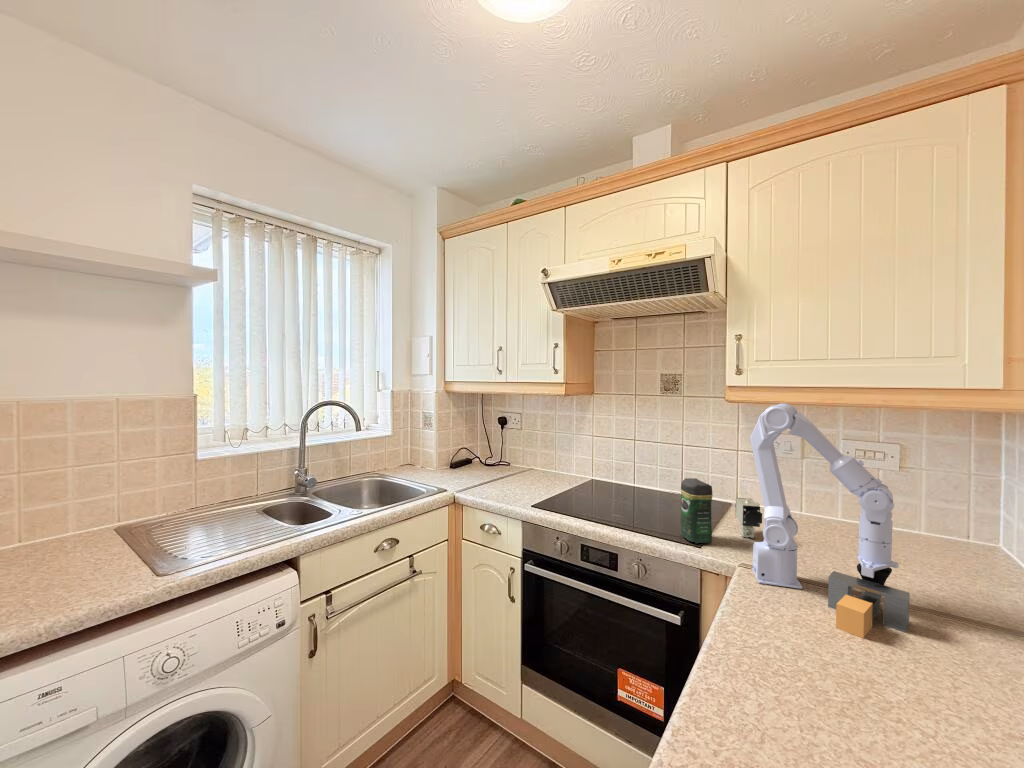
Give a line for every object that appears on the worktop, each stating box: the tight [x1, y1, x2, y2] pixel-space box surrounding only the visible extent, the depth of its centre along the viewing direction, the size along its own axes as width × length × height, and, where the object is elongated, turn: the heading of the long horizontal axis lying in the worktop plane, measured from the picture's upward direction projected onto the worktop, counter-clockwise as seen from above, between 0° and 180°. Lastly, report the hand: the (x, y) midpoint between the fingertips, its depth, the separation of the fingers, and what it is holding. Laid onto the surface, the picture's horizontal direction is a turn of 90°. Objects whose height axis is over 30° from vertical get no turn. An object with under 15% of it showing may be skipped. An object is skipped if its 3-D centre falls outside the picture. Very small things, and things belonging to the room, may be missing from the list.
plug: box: [835, 590, 882, 639], centre depth 93 cm, size 16×4×5 cm, turn 128°
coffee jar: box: [679, 477, 713, 544], centre depth 137 cm, size 10×8×19 cm
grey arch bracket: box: [827, 570, 911, 633], centre depth 94 cm, size 4×13×7 cm, turn 41°
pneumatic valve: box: [734, 497, 763, 539], centre depth 139 cm, size 6×12×12 cm, turn 167°
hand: (873, 598), depth 99 cm, fingers closed
